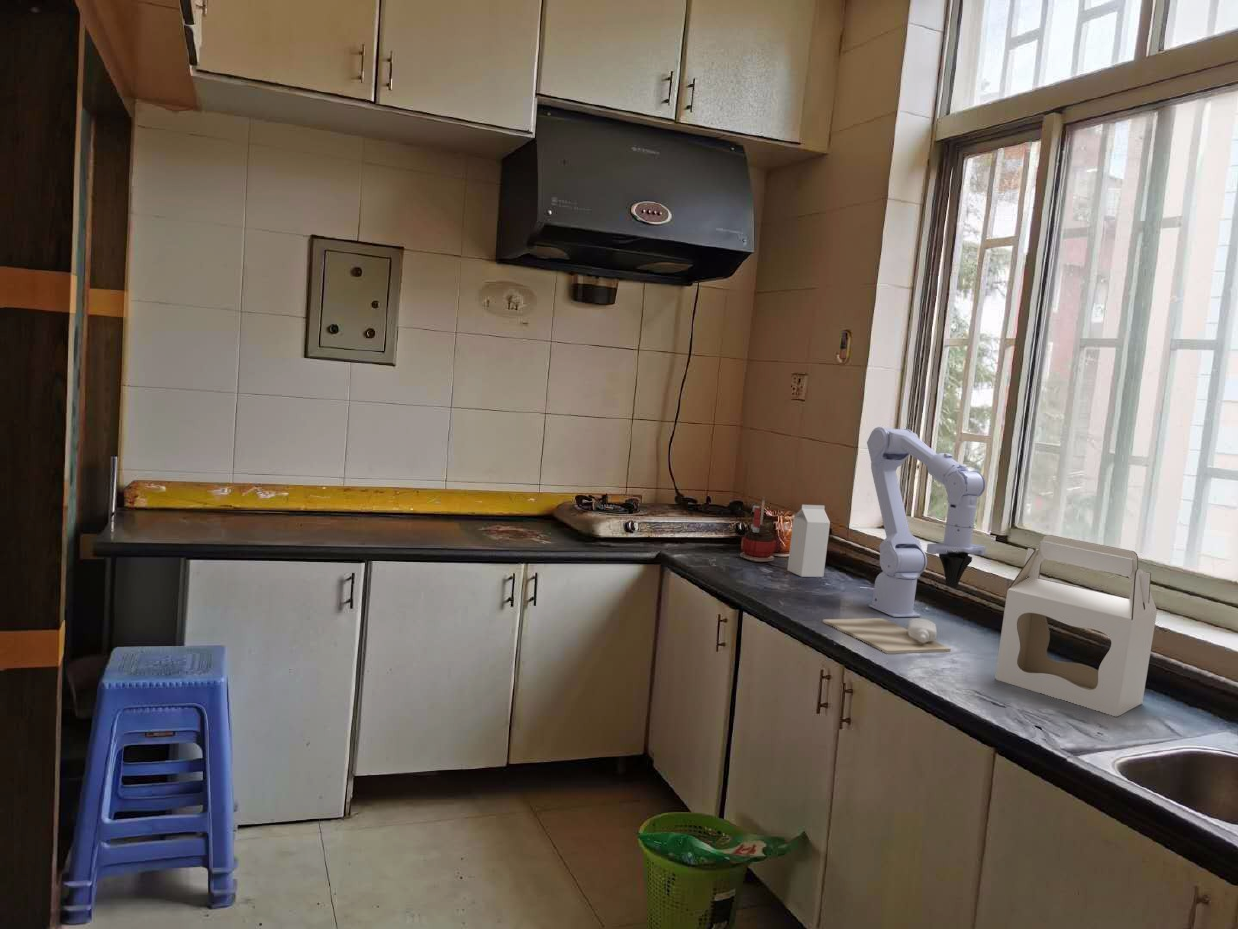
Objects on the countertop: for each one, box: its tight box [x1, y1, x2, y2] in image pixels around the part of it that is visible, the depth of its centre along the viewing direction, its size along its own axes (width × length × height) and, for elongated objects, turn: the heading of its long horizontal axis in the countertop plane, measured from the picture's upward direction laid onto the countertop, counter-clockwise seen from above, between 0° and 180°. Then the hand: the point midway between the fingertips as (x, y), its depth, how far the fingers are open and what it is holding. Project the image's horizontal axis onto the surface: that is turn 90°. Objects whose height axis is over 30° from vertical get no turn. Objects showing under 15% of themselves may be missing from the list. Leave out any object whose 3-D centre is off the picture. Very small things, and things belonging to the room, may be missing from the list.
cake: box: [739, 497, 777, 563], centre depth 273 cm, size 11×9×18 cm
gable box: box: [994, 534, 1158, 718], centre depth 176 cm, size 22×13×28 cm, turn 44°
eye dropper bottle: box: [907, 617, 938, 643], centre depth 201 cm, size 4×6×12 cm
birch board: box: [822, 617, 952, 655], centre depth 203 cm, size 22×16×1 cm
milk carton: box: [786, 504, 831, 578], centre depth 259 cm, size 7×7×19 cm
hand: (951, 586), depth 211 cm, fingers closed
